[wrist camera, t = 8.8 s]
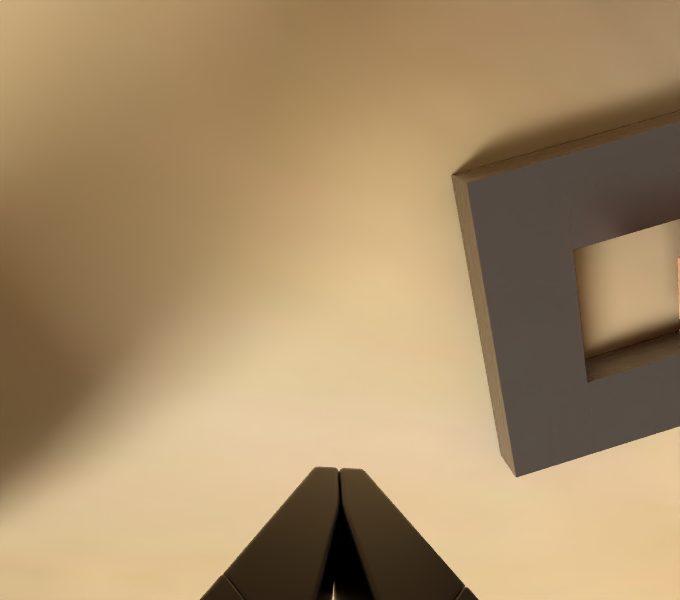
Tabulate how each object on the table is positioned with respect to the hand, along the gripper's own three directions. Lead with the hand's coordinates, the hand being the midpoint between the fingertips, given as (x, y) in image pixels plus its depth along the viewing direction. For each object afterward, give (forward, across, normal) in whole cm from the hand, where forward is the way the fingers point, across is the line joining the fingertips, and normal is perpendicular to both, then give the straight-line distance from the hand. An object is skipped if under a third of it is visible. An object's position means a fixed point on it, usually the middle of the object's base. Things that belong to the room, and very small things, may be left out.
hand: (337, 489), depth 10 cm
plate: (+14, +11, -2) cm, 18 cm away
